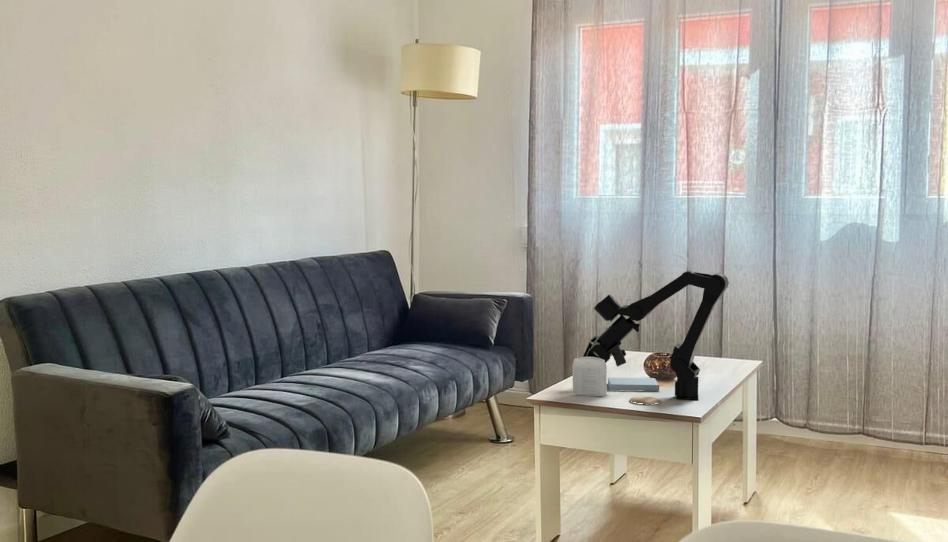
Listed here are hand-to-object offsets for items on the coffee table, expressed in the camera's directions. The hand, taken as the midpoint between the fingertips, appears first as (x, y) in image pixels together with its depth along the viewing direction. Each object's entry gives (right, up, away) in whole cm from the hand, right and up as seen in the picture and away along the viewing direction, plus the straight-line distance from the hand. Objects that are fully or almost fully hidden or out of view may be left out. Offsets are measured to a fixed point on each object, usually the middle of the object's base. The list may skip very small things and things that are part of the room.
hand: (581, 367), depth 287 cm
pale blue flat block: (+17, -7, +6) cm, 20 cm away
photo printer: (+2, -7, -6) cm, 10 cm away
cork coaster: (+17, -9, -15) cm, 24 cm away
